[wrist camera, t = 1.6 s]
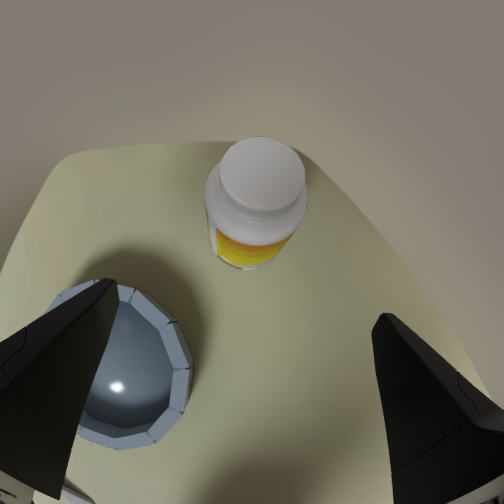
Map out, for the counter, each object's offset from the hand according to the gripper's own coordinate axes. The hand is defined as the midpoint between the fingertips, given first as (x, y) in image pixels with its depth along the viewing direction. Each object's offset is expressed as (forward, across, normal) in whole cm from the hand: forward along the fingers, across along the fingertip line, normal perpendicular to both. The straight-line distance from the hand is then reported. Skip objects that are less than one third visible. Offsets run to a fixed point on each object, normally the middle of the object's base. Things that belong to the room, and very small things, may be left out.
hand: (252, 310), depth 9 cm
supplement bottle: (+13, 0, +4) cm, 14 cm away
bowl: (+5, +9, +12) cm, 16 cm away
